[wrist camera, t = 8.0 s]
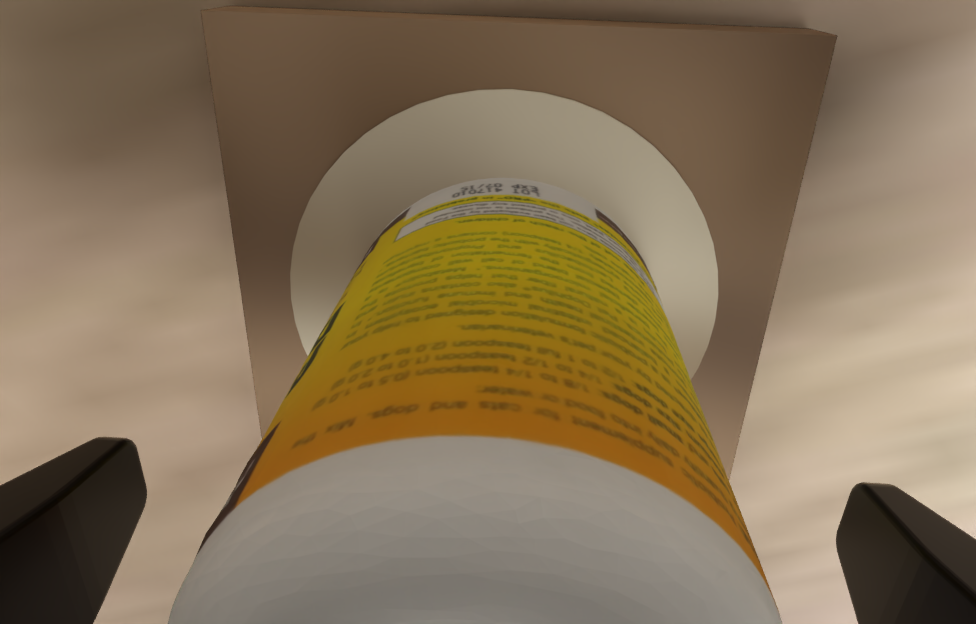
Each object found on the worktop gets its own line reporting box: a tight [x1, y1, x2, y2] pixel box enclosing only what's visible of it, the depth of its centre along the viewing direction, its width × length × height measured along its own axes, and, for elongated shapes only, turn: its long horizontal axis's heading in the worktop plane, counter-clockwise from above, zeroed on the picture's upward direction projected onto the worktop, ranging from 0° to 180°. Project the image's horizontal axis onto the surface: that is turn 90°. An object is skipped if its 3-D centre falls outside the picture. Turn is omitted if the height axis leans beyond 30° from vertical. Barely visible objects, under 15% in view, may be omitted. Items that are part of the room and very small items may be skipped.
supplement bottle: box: [168, 178, 782, 624], centre depth 9 cm, size 6×6×10 cm
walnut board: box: [201, 6, 837, 480], centre depth 14 cm, size 10×10×1 cm
